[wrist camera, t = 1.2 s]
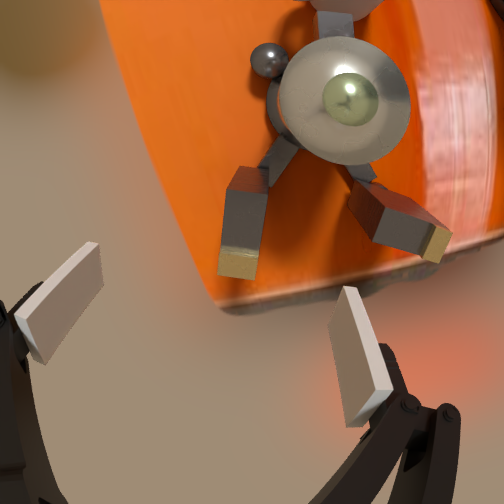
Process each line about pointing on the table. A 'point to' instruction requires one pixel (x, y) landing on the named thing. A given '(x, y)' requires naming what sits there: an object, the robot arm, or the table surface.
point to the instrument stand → (333, 99)
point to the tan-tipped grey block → (243, 223)
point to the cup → (346, 6)
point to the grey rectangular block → (398, 221)
